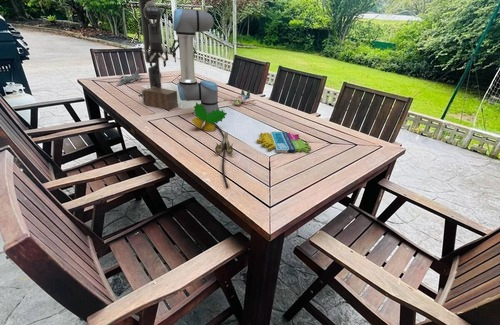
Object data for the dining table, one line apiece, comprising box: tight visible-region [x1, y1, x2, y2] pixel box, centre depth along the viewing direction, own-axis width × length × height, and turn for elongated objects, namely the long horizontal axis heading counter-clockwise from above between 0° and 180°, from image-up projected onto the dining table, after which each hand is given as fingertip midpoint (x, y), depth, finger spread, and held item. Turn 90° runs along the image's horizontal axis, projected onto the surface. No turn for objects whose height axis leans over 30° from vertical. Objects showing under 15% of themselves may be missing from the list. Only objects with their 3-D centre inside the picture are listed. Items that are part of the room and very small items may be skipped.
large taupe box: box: [143, 87, 179, 111], centre depth 196 cm, size 21×11×12 cm, turn 69°
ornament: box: [191, 101, 228, 132], centre depth 162 cm, size 21×8×15 cm, turn 105°
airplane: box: [114, 66, 148, 87], centre depth 254 cm, size 38×31×10 cm
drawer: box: [138, 87, 150, 104], centre depth 197 cm, size 25×10×10 cm, turn 69°
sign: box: [256, 131, 312, 154], centre depth 152 cm, size 26×2×30 cm
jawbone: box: [214, 131, 234, 156], centre depth 136 cm, size 9×15×10 cm
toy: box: [223, 89, 257, 106], centre depth 219 cm, size 28×7×30 cm
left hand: (158, 66), depth 182 cm, fingers open, 8 cm apart
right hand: (184, 62), depth 211 cm, fingers open, 13 cm apart
